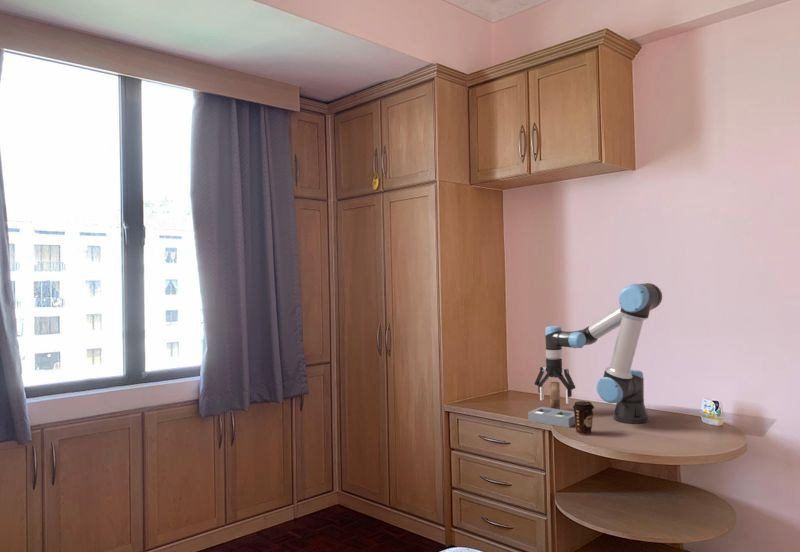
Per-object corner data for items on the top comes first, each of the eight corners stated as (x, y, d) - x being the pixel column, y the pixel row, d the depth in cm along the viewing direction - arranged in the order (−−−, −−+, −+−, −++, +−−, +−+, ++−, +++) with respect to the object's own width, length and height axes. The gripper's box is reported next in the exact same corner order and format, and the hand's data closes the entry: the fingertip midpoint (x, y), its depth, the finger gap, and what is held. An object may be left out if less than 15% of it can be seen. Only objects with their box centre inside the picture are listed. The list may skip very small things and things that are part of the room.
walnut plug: (561, 413, 281) (561, 382, 281) (557, 415, 278) (556, 384, 278) (553, 411, 284) (552, 381, 284) (548, 413, 281) (547, 383, 281)
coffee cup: (596, 431, 248) (596, 401, 248) (592, 436, 241) (591, 405, 241) (576, 429, 252) (575, 399, 252) (571, 434, 245) (570, 403, 245)
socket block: (541, 414, 279) (541, 406, 279) (581, 421, 266) (580, 412, 266) (528, 420, 269) (528, 411, 269) (568, 427, 256) (568, 418, 256)
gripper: (581, 359, 275) (582, 403, 276) (534, 355, 292) (535, 396, 292) (575, 361, 270) (576, 406, 270) (527, 357, 286) (528, 399, 286)
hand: (554, 401), depth 281 cm, fingers open, 13 cm apart
